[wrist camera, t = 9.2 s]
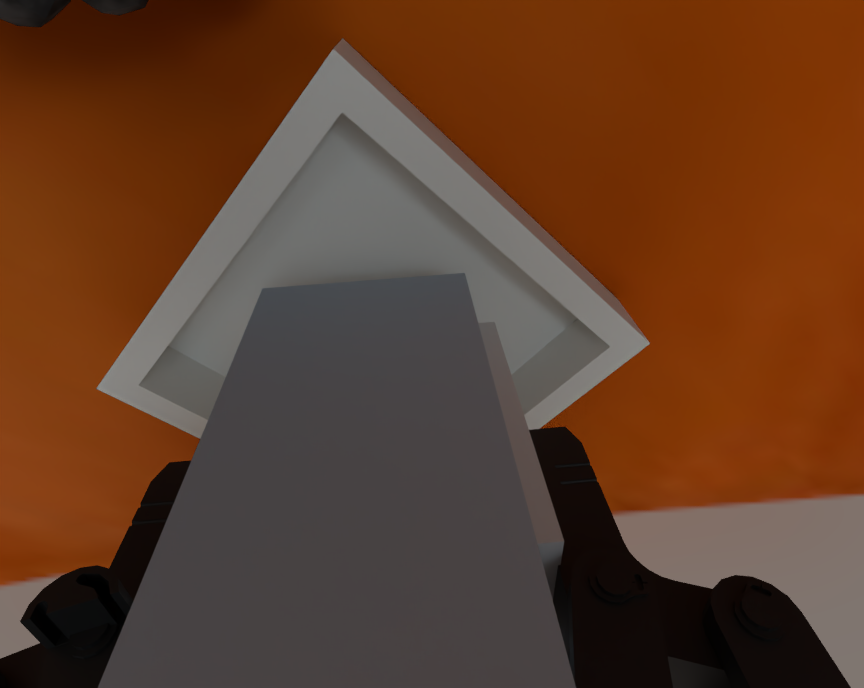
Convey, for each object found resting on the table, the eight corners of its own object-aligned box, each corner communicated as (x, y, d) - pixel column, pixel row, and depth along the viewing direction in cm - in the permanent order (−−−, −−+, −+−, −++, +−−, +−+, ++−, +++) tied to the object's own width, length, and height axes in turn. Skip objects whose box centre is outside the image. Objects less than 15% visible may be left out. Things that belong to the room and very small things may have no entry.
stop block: (262, 288, 13) (36, 834, 5) (464, 272, 13) (598, 774, 5) (301, 434, 16) (206, 932, 7) (466, 420, 16) (552, 893, 8)
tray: (342, 38, 12) (333, 48, 10) (617, 299, 17) (650, 343, 15) (133, 337, 16) (96, 388, 14) (399, 480, 21) (400, 535, 19)
